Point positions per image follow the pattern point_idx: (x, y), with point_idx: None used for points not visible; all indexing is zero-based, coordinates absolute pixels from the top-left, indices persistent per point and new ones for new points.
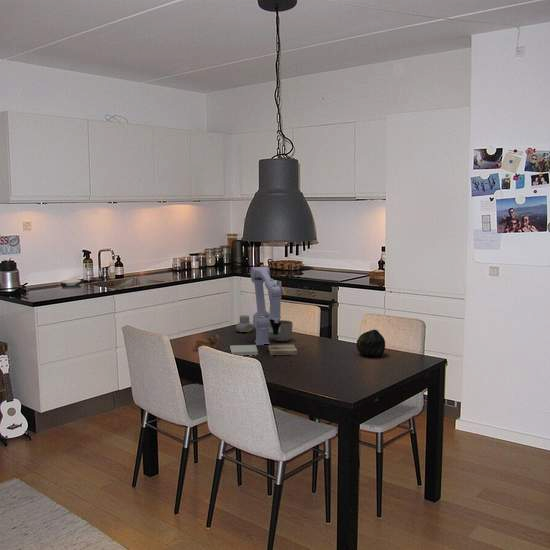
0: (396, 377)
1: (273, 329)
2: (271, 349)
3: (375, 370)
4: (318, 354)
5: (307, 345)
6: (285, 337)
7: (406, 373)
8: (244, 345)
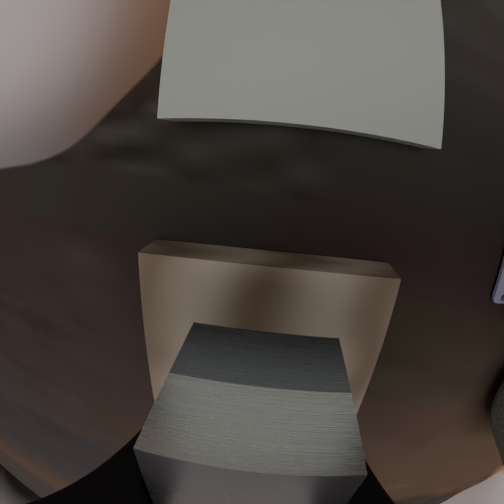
0: (4, 463)
1: (115, 460)
2: (211, 270)
3: (31, 471)
4: None
5: (373, 473)
6: (495, 416)
7: (33, 489)
8: (432, 34)
